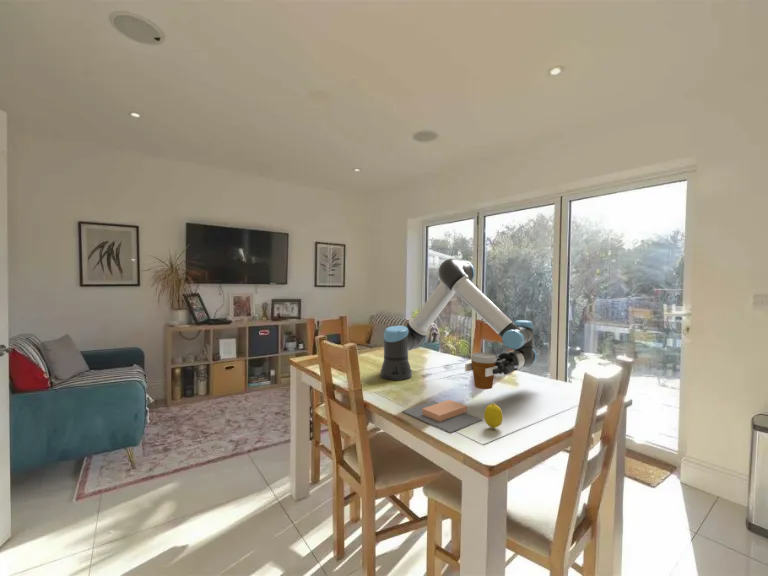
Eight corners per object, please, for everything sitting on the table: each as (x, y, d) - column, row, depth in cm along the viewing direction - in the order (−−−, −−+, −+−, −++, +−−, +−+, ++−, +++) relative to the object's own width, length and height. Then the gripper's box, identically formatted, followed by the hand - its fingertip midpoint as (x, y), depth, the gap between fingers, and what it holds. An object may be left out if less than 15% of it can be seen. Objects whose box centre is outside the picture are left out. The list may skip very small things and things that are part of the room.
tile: (449, 405, 130) (422, 414, 121) (449, 399, 130) (422, 408, 121) (467, 412, 124) (439, 422, 115) (467, 405, 124) (439, 415, 115)
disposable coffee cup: (500, 390, 128) (500, 357, 128) (474, 390, 128) (474, 357, 128) (492, 382, 138) (492, 352, 137) (467, 383, 137) (467, 352, 137)
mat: (402, 411, 125) (402, 410, 125) (433, 401, 135) (433, 400, 135) (450, 433, 108) (450, 432, 108) (482, 420, 118) (482, 418, 118)
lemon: (498, 424, 114) (498, 400, 114) (505, 432, 109) (505, 406, 108) (481, 425, 114) (481, 400, 114) (487, 432, 108) (487, 406, 108)
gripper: (535, 375, 136) (501, 387, 121) (488, 365, 152) (453, 374, 138) (535, 356, 135) (501, 365, 121) (488, 347, 152) (453, 355, 138)
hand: (475, 370), depth 130 cm, fingers closed on disposable coffee cup, 8 cm apart
